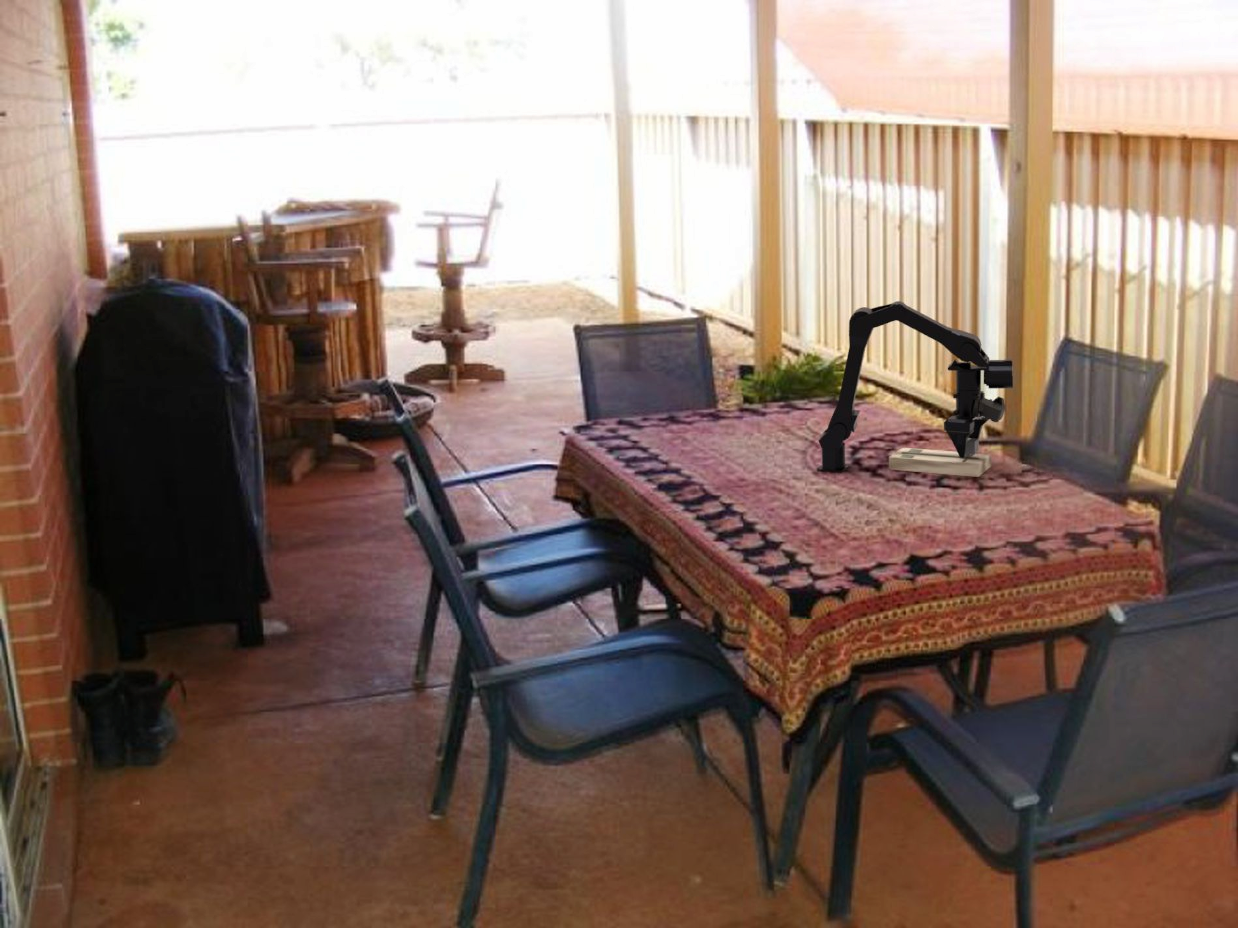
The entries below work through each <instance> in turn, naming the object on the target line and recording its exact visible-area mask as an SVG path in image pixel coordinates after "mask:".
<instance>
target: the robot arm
mask: <svg viewBox="0 0 1238 928" xmlns="http://www.w3.org/2000/svg"><path fill="white" fill-rule="evenodd" d="M896 321H897V322H899V323H901V324H902V325H903V324H904V325H905V326H907V327H909V328H911V329H913V330H915V331H917V332H919V333H921V334H922V335H924V336H926V337H928V338H930V339H932V340H934V341H936V342H937V343H939V344H941V345H942V346H943V347H944V348H945V349H947V351H948V352H949V353H950V354H952V355H953V356H954V357H956V358H954V359H953V361H952V362H951V363H950V364H948V367H947V370H948V371H949V372H950V371H952V372H954V371H955V392H954V393H953V399H955V409H954V410H952V411H953V412H952V414H953V415H951V416H950V417H948V418H947V419H946V420H945V421H943V431H945V432H946V434H947V435H948V437H949V438H950V440H951V442H952V444H953V446H954V448H955V451H956V452H958V454H959V456H960V457H961V458H964V457H965V453H966V447H967V441H968V438H975V439H979V440H980V436H981V433H982V429H983V426H984V425H985V424H986V423H987V422H988V421H991V422H993V423H999V421H1002V419H1003V416H1004V414H1005V412H1006V411H1007V405H1006V403H1005V398H1003V397H1000V396H997V397H996V398H994V399H991V398H989V399H988V398H986V397H985V396H986V395H985V392H984V391H983V390H982V371H983V385H986V387H987V388H988V389H1014V371H1013V370H1014V369H1013V368H1014V367H1013V366H1014V365H1013V364H1014V363H1013V359H1012V358H1006V359H990V356H988V354H986V352H985V351H984V350H983V348H982V341H981V339H980V337H978V336H977V335H976V334H974V333H971V332H968V331H964V330H962V329H961V330H960V329H958V328H957V329H956V328H952V327H949V326H946V325H945V324H943V323H941V322H939V321H937V320H935V319H933V318H931V317H930V316H928V315H926V314H924V313H922V312H920V311H918V310H916V309H914V308H912V307H911V306H908V305H907V304H906V303H904V301H900V300H898V301H894V302H892V303H888V304H883V305H880V306H876V307H873V308H872V307H871V308H869V307H867V306H865V307H859V308H857V309H856V310H855V311H854V312H853V313H852V315H851V316H850V319H849V321H848V322H849V323H848V342H849V344H848V345H849V346H848V347H849V348H848V350H847V351H848V352H847V357H846V362H845V366H844V372H843V377H842V382H841V387H840V392H839V396H838V400H837V403H836V406H835V407H834V408H835V409H834V410H833V413H832V415H831V418H830V421H829V423H828V426H827V428H826V429H825V430H824V431H823V433H822V434H821V436H820V437H819V439H818V443H819V446H820V449H821V465H820V466H819V467H816V471H818V472H829V473H830V472H831V473H840V474H841V473H843V472H844V471H846V470H847V469H849V468H850V467H851V464H849V463H846V443H845V441H846V440H847V439H849V438H850V437H851V434H852V433H855V431H856V429H857V427H858V418H859V415H860V414H861V413H860V412H861V410H858V409H857V410H856V408H855V406H856V405H855V400H856V397H857V396H856V394H857V390H858V385H859V381H860V377H861V372H862V367H863V362H864V357H865V353H866V352H865V351H866V348H867V345H868V343H869V340H870V338H871V336H872V334H873V331H874V329H875V328H878V327H881V326H885V325H886V324H889V323H892V322H896ZM958 359H959V360H960V361H961V362H960V361H958ZM972 364H974V365H972Z"/></svg>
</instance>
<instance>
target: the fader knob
mask: <svg viewBox="0 0 1238 928" xmlns="http://www.w3.org/2000/svg"><path fill="white" fill-rule="evenodd" d="M979 440H980V438H979V439H975V438H968V441H967V447H966V453H965V457H971V454H975V453H978V452H979V450H980V449H979V448H980V447H979Z"/></svg>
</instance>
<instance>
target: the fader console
mask: <svg viewBox="0 0 1238 928" xmlns="http://www.w3.org/2000/svg"><path fill="white" fill-rule="evenodd" d="M991 467H992V454H991V453H980V452H979V453H978V452H977V453H975V454H971V457H964V458H961V457H960V456H959V454H958V452H957V451H956V450H954V451H952V450H941V449H940V450H939V449H925V448H911V447H902V448H900V449H898V450H897V451H896V452H895V453H893V454H892V455H890V456H888V470H892V471H902V472H904V471H905V472H914V473H915V472H916V473H927V474H928V473H929V474H940V475H941V474H942V475H951V476H953V475H954V476H961V477H962V476H963V477H965V476H967V477H977V478H979V477H980V476H982V474H984V473H985V472H986V471H987V470H989V469H990V468H991Z"/></svg>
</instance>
